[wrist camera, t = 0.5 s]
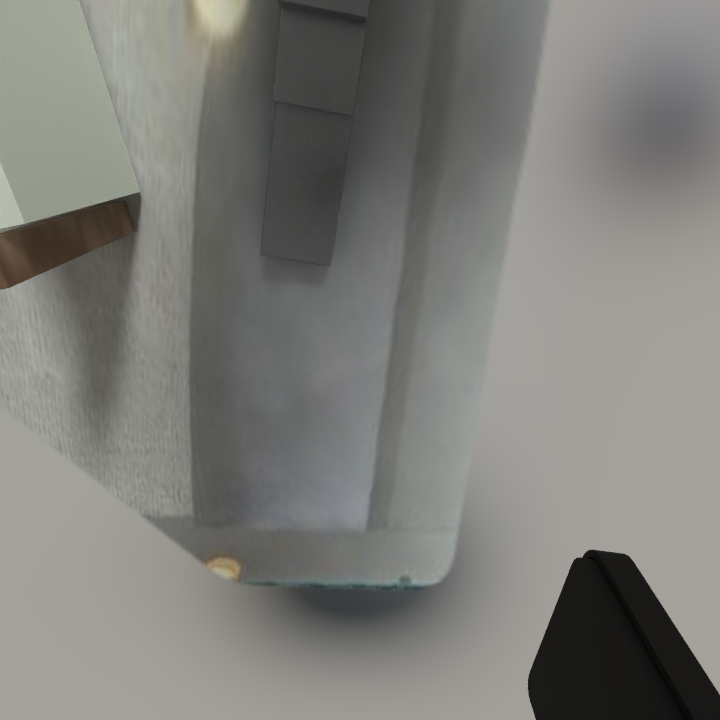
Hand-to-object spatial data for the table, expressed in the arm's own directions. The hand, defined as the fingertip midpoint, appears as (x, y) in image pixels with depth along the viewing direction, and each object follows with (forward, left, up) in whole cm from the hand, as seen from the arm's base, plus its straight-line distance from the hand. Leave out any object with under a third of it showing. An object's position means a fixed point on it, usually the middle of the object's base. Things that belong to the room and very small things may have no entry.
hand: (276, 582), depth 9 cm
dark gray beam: (-7, -2, -27) cm, 28 cm away
